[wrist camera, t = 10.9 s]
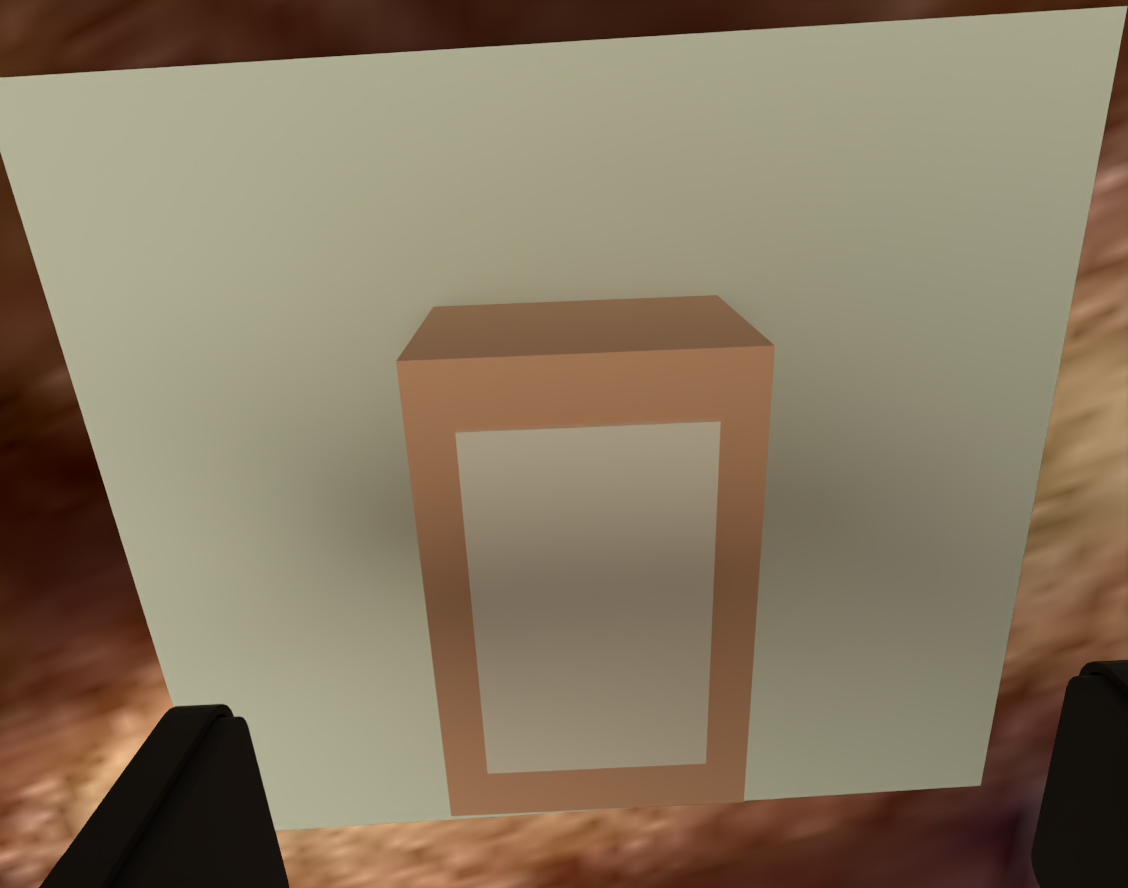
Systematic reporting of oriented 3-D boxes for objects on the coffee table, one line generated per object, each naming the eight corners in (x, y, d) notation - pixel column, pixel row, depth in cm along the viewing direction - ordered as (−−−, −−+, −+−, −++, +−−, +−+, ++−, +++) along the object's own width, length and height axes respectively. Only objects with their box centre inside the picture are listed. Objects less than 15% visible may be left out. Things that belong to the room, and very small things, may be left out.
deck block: (702, 667, 16) (745, 806, 13) (470, 677, 16) (450, 821, 13) (717, 295, 13) (777, 347, 10) (433, 306, 13) (394, 363, 10)
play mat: (1101, 11, 12) (1127, 5, 12) (967, 766, 18) (980, 785, 18) (3, 82, 12) (-23, 79, 12) (223, 813, 18) (213, 834, 18)
